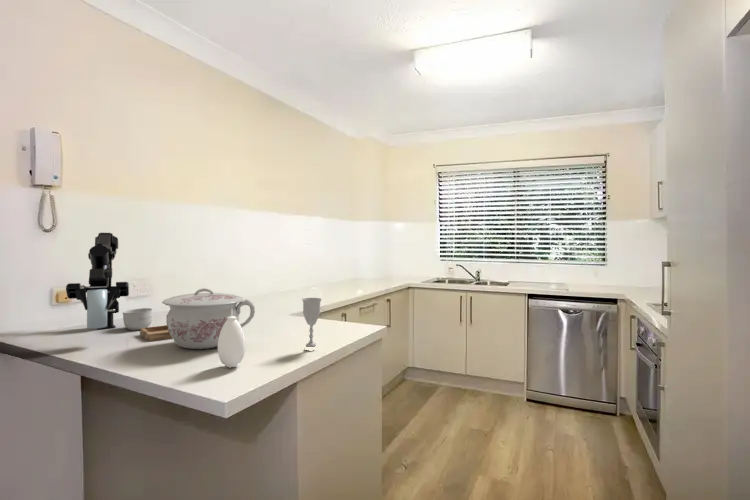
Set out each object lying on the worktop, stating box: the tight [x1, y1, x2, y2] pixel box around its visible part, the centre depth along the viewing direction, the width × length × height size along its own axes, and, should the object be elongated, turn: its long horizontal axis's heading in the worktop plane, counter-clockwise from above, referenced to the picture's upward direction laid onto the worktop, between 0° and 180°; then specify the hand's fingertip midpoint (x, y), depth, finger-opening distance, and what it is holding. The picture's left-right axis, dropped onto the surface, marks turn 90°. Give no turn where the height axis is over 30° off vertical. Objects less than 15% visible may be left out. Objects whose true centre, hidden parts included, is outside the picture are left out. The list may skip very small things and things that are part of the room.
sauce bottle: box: [217, 309, 246, 368], centre depth 127 cm, size 8×8×18 cm
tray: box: [139, 324, 173, 343], centre depth 164 cm, size 14×12×3 cm
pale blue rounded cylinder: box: [86, 289, 107, 330], centre depth 148 cm, size 6×6×13 cm
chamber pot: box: [161, 287, 256, 351], centre depth 152 cm, size 28×28×21 cm
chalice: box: [301, 297, 323, 347], centre depth 148 cm, size 7×7×18 cm
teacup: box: [122, 307, 153, 331], centre depth 178 cm, size 14×11×8 cm
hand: (96, 308), depth 146 cm, fingers closed on pale blue rounded cylinder, 6 cm apart
